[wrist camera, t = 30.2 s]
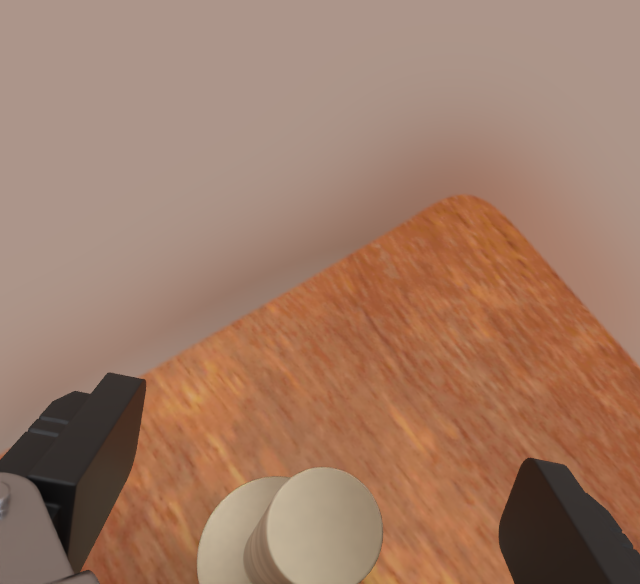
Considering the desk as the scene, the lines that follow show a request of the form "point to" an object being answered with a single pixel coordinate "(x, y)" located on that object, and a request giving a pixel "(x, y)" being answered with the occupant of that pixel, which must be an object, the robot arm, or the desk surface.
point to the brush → (293, 531)
